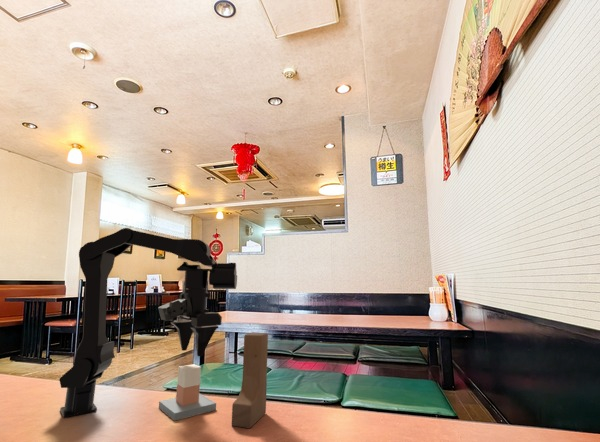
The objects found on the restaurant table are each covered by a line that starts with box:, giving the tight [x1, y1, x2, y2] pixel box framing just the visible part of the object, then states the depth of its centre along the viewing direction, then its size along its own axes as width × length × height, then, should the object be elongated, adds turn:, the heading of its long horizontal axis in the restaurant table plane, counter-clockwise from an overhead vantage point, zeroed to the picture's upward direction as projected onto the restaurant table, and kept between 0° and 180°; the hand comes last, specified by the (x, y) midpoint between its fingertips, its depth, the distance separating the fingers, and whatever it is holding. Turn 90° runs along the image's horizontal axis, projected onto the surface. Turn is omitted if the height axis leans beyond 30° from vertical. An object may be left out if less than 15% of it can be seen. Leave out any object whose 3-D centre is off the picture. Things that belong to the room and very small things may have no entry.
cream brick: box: [176, 363, 202, 388], centre depth 80 cm, size 4×4×4 cm
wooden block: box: [231, 331, 269, 429], centre depth 75 cm, size 9×4×18 cm, turn 164°
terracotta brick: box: [175, 384, 201, 406], centre depth 80 cm, size 4×4×4 cm
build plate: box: [158, 392, 217, 422], centre depth 79 cm, size 10×10×2 cm
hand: (191, 353), depth 81 cm, fingers open, 9 cm apart
